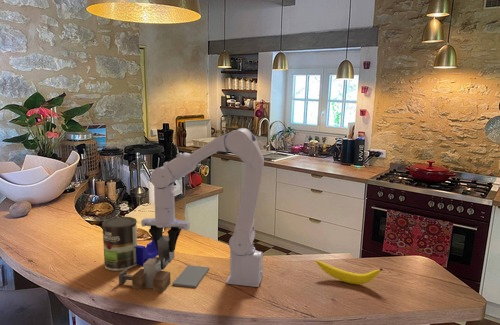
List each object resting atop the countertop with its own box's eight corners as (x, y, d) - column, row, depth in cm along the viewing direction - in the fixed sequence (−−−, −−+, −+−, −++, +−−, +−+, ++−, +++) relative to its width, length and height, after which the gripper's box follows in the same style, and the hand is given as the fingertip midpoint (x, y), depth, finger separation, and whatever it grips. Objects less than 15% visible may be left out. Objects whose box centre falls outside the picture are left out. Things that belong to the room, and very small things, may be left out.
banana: (316, 273, 111) (316, 253, 110) (381, 287, 103) (383, 266, 102) (313, 277, 109) (314, 257, 108) (380, 292, 101) (382, 270, 100)
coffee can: (123, 273, 110) (120, 228, 108) (97, 267, 114) (94, 224, 112) (145, 260, 119) (143, 218, 117) (120, 255, 123) (118, 214, 121)
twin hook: (175, 267, 114) (174, 246, 113) (155, 288, 101) (155, 264, 100) (154, 265, 116) (153, 244, 114) (132, 285, 103) (131, 262, 102)
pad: (209, 269, 113) (209, 267, 113) (195, 288, 102) (195, 286, 102) (188, 266, 115) (188, 265, 115) (172, 285, 103) (172, 283, 103)
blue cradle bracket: (151, 249, 128) (151, 233, 127) (163, 251, 127) (162, 234, 126) (131, 263, 117) (130, 246, 116) (143, 265, 115) (142, 247, 114)
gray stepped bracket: (174, 257, 112) (173, 236, 110) (164, 269, 105) (162, 247, 103) (164, 256, 113) (162, 235, 111) (152, 268, 106) (151, 246, 104)
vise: (170, 283, 104) (170, 271, 104) (162, 292, 99) (162, 280, 99) (126, 278, 107) (126, 266, 106) (117, 286, 102) (116, 274, 102)
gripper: (135, 208, 105) (137, 253, 107) (182, 212, 102) (183, 257, 105) (147, 202, 112) (148, 244, 114) (191, 205, 109) (192, 248, 111)
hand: (166, 250), depth 110 cm, fingers closed on gray stepped bracket, 3 cm apart
